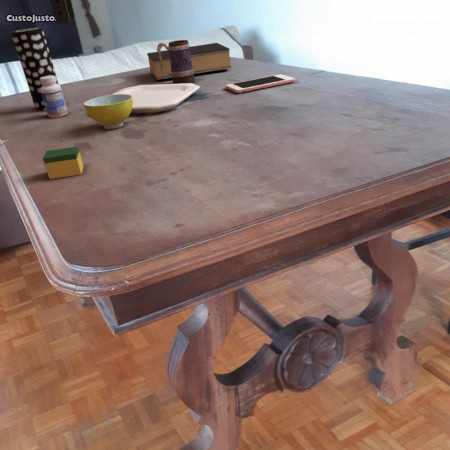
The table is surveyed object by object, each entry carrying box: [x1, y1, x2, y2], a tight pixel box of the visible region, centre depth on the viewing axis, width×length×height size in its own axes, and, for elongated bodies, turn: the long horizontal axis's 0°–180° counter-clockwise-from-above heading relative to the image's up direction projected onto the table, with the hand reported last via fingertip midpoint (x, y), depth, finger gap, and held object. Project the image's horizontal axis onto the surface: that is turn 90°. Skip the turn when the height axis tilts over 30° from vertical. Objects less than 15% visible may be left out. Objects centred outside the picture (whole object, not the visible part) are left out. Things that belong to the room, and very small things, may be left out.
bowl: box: [83, 93, 133, 130], centre depth 113 cm, size 11×12×6 cm
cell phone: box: [225, 73, 296, 94], centre depth 134 cm, size 9×18×1 cm, turn 112°
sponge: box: [42, 145, 84, 180], centre depth 90 cm, size 6×4×4 cm
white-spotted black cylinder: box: [10, 26, 60, 112], centre depth 134 cm, size 8×8×20 cm
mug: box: [156, 39, 196, 84], centre depth 144 cm, size 10×7×12 cm
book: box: [146, 42, 232, 82], centre depth 160 cm, size 17×25×7 cm
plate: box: [111, 83, 201, 114], centre depth 130 cm, size 25×25×2 cm
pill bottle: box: [40, 76, 69, 119], centre depth 127 cm, size 5×5×10 cm
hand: (66, 20), depth 81 cm, fingers open, 8 cm apart
